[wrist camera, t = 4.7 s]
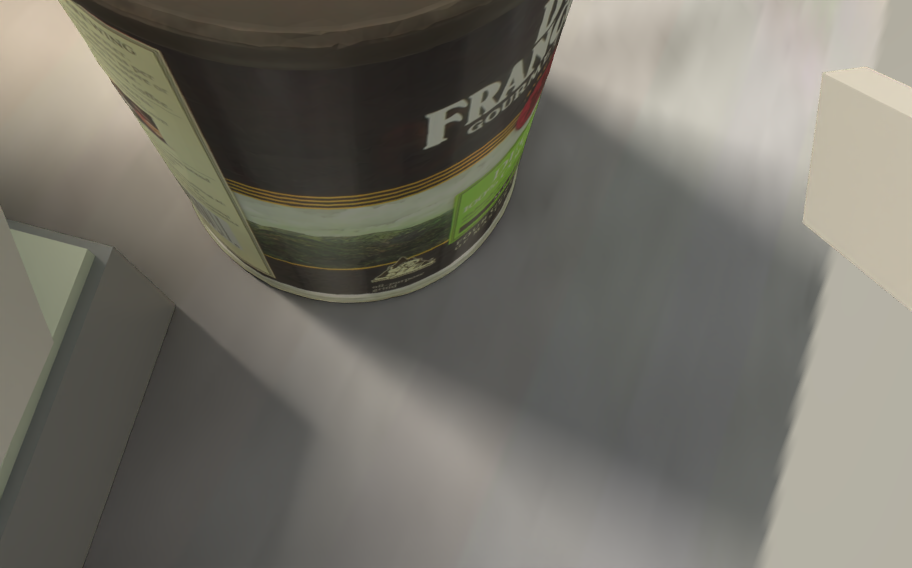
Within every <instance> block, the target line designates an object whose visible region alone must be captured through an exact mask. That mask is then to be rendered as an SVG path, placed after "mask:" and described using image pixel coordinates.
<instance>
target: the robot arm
mask: <svg viewBox="0 0 912 568" xmlns="http://www.w3.org/2000/svg"><path fill="white" fill-rule="evenodd" d="M802 223H803V224H805V225H806V226H807V227H808V228H809V229H811V230H812V231H813V232H814V233H816V234H817V235H818V236H819V237H820V238H822V239H823V240H824V241H825V242H827V243H828V244H829V245H830V246H832V247H833V248H834V249H835V250H836V251H838V252H839V253H840V254H841V255H843V256H844V257H845V258H846V259H848V260H849V261H850V262H851V263H852V264H854V265H855V266H856V267H857V268H859V269H860V270H861V271H862V272H863V273H865V274H866V275H867V276H868V277H870V278H871V279H872V280H873V281H875V282H876V283H877V284H878V285H879V286H881V287H882V288H883V289H884V290H885V291H887V292H888V293H889V294H890V295H892V296H893V297H894V298H895V299H897V300H898V301H899V302H900V303H902V304H903V305H904V306H905V307H906V308H908V309H909V310H910V311H911V312H912V87H910V86H907V85H905V84H903V83H901V82H899V81H897V80H894V79H892V78H890V77H888V76H885V75H883V74H881V73H879V72H877V71H875V70H872V69H870V68H868V67H859V68H852V69H845V70H838V71H831V72H824V73H822V81H821V88H820V96H819V103H818V111H817V118H816V125H815V133H814V140H813V148H812V155H811V163H810V170H809V178H808V185H807V192H806V200H805V207H804V215H803V222H802ZM53 343H54V341H53V339H52V336H51V334H50V331H49V329H48V326H47V323H46V321H45V318H44V316H43V313H42V311H41V308H40V305H39V303H38V300H37V298H36V295H35V293H34V290H33V288H32V285H31V282H30V280H29V277H28V275H27V272H26V270H25V267H24V264H23V262H22V259H21V257H20V254H19V252H18V249H17V246H16V244H15V241H14V239H13V236H12V234H11V231H10V228H9V226H8V223H7V221H6V218H5V216H4V213H3V210H2V208H1V205H0V466H1V464H2V461H3V459H4V457H5V454H6V452H7V450H8V447H9V445H10V443H11V441H12V438H13V436H14V434H15V431H16V429H17V427H18V424H19V422H20V420H21V417H22V415H23V413H24V410H25V408H26V406H27V404H28V401H29V399H30V397H31V394H32V392H33V390H34V387H35V385H36V383H37V380H38V378H39V376H40V373H41V371H42V369H43V367H44V364H45V362H46V360H47V357H48V355H49V353H50V350H51V348H52V346H53Z"/></svg>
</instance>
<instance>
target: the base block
mask: <svg viewBox="0 0 912 568" xmlns="http://www.w3.org/2000/svg"><path fill="white" fill-rule="evenodd" d="M6 221H7V223H8V226H9V228H10V231H11V234H12V236H13V239H14V241H15V244H16V246H17V249H18V252H19V254H20V257H21V259H22V262H23V264H24V267H25V270H26V272H27V275H28V277H29V280H30V282H31V285H32V288H33V290H34V293H35V295H36V298H37V300H38V303H39V305H40V308H41V311H42V313H43V316H44V318H45V321H46V323H47V326H48V329H49V331H50V334H51V336H52V339H53V341H54V343H53V346H52V348H51V350H50V353H49V355H48V357H47V360H46V362H45V364H44V367H43V369H42V371H41V373H40V376H39V378H38V380H37V383H36V385H35V387H34V390H33V392H32V394H31V397H30V399H29V401H28V404H27V406H26V408H25V410H24V413H23V415H22V417H21V420H20V422H19V424H18V427H17V429H16V431H15V434H14V436H13V438H12V441H11V443H10V445H9V447H8V450H7V452H6V454H5V457H4V459H3V461H2V464H1V466H0V568H83V565H84V562H85V559H86V557H87V554H88V551H89V548H90V545H91V543H92V540H93V537H94V534H95V531H96V529H97V526H98V523H99V520H100V517H101V515H102V512H103V509H104V506H105V503H106V500H107V498H108V495H109V492H110V489H111V486H112V484H113V481H114V478H115V475H116V472H117V470H118V467H119V464H120V461H121V458H122V456H123V453H124V450H125V447H126V444H127V441H128V439H129V436H130V433H131V430H132V427H133V425H134V422H135V419H136V416H137V413H138V411H139V408H140V405H141V402H142V399H143V397H144V394H145V391H146V388H147V385H148V382H149V380H150V377H151V374H152V371H153V368H154V366H155V363H156V360H157V357H158V354H159V352H160V349H161V346H162V343H163V340H164V338H165V335H166V332H167V329H168V326H169V323H170V321H171V318H172V315H173V312H174V309H175V307H176V305H175V304H174V303H173V302H172V301H171V300H170V299H169V298H168V297H167V296H166V295H165V294H163V293H162V292H161V291H160V290H159V289H158V288H157V287H156V286H155V285H154V284H153V283H152V282H151V281H150V280H148V279H147V278H146V277H145V276H144V275H143V274H142V273H141V272H140V271H139V270H138V269H137V268H136V267H134V266H133V265H132V264H131V263H130V262H129V261H128V260H127V259H126V258H125V257H124V256H123V255H122V254H121V253H119V252H118V251H117V250H116V249H115V248H114V247H112V246H109V245H105V244H101V243H97V242H93V241H90V240H86V239H82V238H78V237H74V236H71V235H67V234H63V233H59V232H55V231H52V230H48V229H44V228H40V227H36V226H32V225H29V224H25V223H21V222H17V221H13V220H10V219H6Z"/></svg>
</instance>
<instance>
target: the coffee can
mask: <svg viewBox="0 0 912 568" xmlns="http://www.w3.org/2000/svg"><path fill="white" fill-rule="evenodd" d="M58 1H59V2H60V4H61V5H62V7H63V8H64V10H65V11H66V13H67V14H68V16H69V17H70V19H71V20H72V22H73V23H74V25H75V26H76V28H77V29H78V31H79V32H80V34H81V35H82V37H83V38H84V40H85V41H86V43H87V44H88V46H89V48H90V50H91V51H92V53H93V55H94V57H95V58H96V60H97V62H98V63H99V65H100V66H101V67H102V69H103V70H104V71H105V72H106V74H107V75H108V76H109V78H110V80H111V82H112V84H113V85H114V86H115V88H116V89H117V91H118V92H119V94H120V95H121V96H122V98H123V99H124V101H125V102H126V103H127V105H128V106H129V107H130V109H131V110H132V112H133V113H134V115H135V116H136V118H137V119H138V121H139V123H140V124H141V126H142V127H143V129H144V130H145V132H146V133H147V135H148V137H149V138H150V140H151V141H152V143H153V144H154V146H155V147H156V149H157V150H158V152H159V153H160V155H161V156H162V158H163V159H164V161H165V163H166V164H167V166H168V167H169V169H170V171H171V172H172V174H173V175H174V177H175V178H176V180H177V181H178V182H179V184H180V185H181V187H182V188H183V190H184V191H185V193H186V194H187V196H188V197H189V199H190V200H191V202H192V205H193V208H194V210H195V211H196V213H197V215H198V217H199V219H200V221H201V222H202V224H203V225H204V227H205V228H206V230H207V232H208V233H209V235H210V236H211V237H212V238H213V239H214V241H215V242H216V243H217V244H218V245H219V246H220V247H221V249H222V250H223V251H224V252H225V253H226V254H227V255H229V256H230V257H231V258H232V259H233V260H234V261H235V262H236V263H238V264H239V265H240V266H241V267H243V268H244V269H245V270H247V271H248V272H250V273H251V274H253V275H254V276H256V277H258V278H259V279H261V280H263V281H265V282H266V283H268V284H269V285H271V286H272V287H275V288H278V289H280V290H283V291H286V292H290V293H293V294H296V295H299V296H302V297H306V298H310V299H315V300H322V301H328V302H340V303H353V302H370V301H378V300H383V299H388V298H392V297H396V296H401V295H405V294H408V293H411V292H413V291H416V290H419V289H421V288H424V287H425V286H427V285H429V284H431V283H433V282H435V281H437V280H439V279H440V278H442V277H444V276H446V275H447V274H448V273H450V272H451V271H453V270H454V269H456V268H457V267H458V266H459V265H460V264H462V263H463V262H464V261H465V260H467V259H468V258H469V257H470V256H471V255H472V254H473V253H474V252H475V251H476V250H477V249H478V248H479V247H480V246H481V245H482V243H483V242H484V241H485V240H486V239H487V237H488V236H489V235H490V233H491V232H492V230H493V229H494V228H495V226H496V224H497V223H498V221H499V220H500V218H501V217H502V215H503V214H504V212H505V209H506V207H507V204H508V202H509V200H510V197H511V194H512V191H513V188H514V185H515V180H516V176H517V170H518V164H519V161H520V159H521V156H522V153H523V149H524V145H525V143H526V139H527V136H528V133H529V130H530V127H531V124H532V121H533V118H534V115H535V112H536V109H537V106H538V102H539V99H540V96H541V93H542V90H543V87H544V84H545V81H546V79H547V76H548V74H549V71H550V67H551V64H552V61H553V57H554V54H555V51H556V48H557V46H558V42H559V39H560V36H561V32H562V29H563V27H564V24H565V21H566V18H567V15H568V12H569V9H570V7H571V4H572V1H573V0H58Z"/></svg>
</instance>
